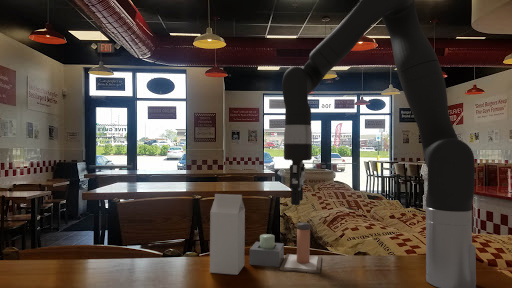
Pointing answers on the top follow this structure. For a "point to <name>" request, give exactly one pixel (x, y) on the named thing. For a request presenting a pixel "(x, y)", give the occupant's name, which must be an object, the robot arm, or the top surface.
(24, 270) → the top surface
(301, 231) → the pink capped bottle
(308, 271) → the picture frame
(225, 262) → the milk carton
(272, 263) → the button box
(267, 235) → the button
